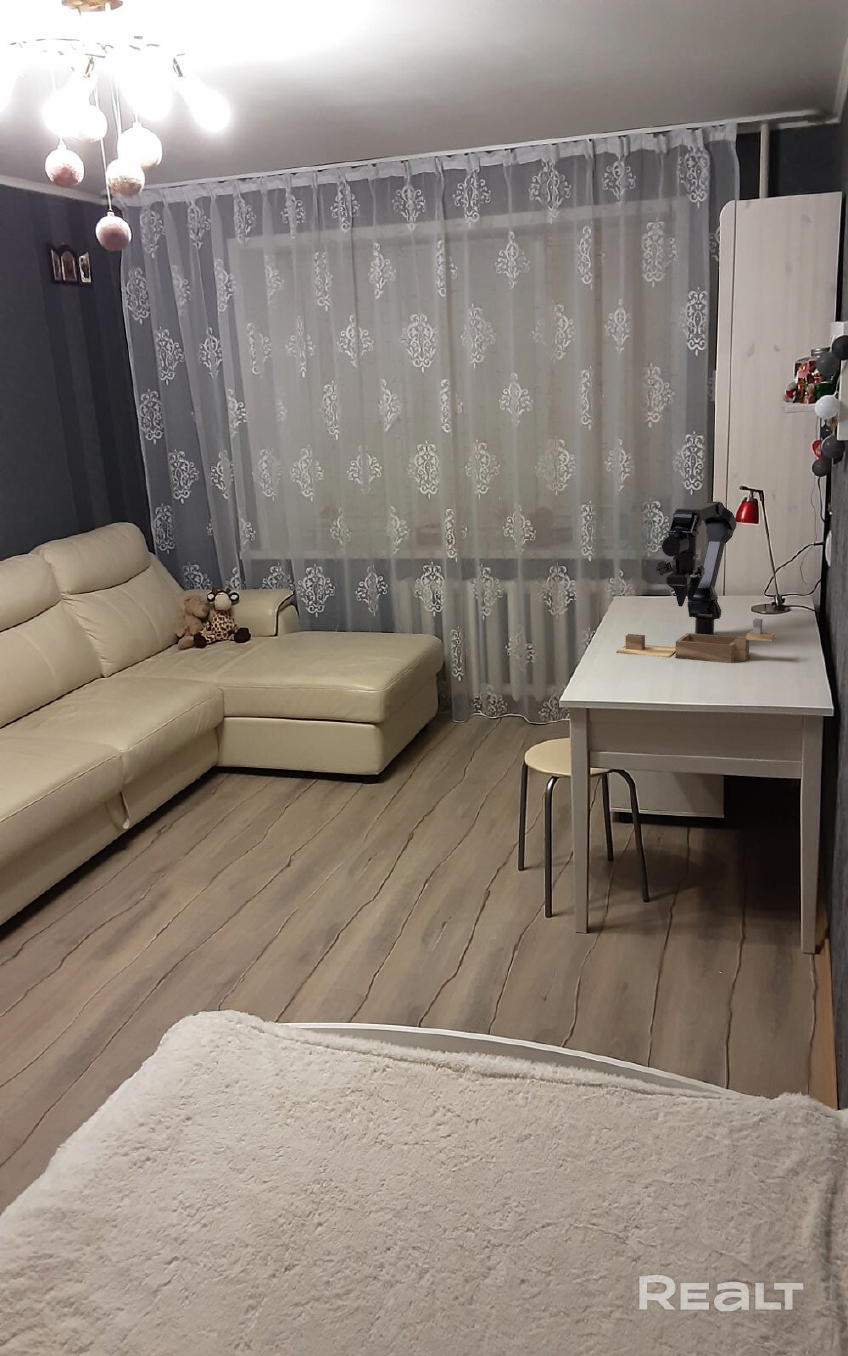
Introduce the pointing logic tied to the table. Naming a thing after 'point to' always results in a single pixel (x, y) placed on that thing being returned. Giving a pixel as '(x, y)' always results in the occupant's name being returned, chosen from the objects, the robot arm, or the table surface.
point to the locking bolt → (759, 632)
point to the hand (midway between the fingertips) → (685, 603)
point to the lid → (644, 647)
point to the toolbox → (712, 648)
